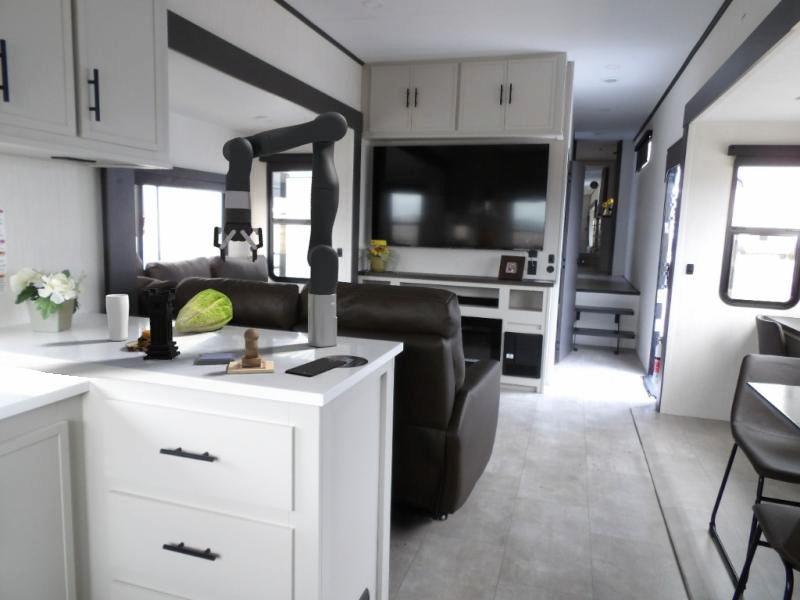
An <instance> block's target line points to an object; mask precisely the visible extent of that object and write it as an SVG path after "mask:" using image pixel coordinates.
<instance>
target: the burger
mask: <svg viewBox="0 0 800 600" xmlns="http://www.w3.org/2000/svg"><path fill="white" fill-rule="evenodd" d="M149 344H150V329H146V330H143V331H142V332H141V335H140V336H139V337H138V338H137V339H136V340H134V341H130V342H127V343H126V344H124V346H125V347H127V352H135V351H134V350H136V351H137V352H139V353H143V352H144V353H145V351H146V350H148V349H149V348H147V345H149Z"/></svg>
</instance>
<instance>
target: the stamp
mask: <svg viewBox="0 0 800 600" xmlns="http://www.w3.org/2000/svg"><path fill="white" fill-rule="evenodd" d="M243 338H244V348H245V350H244V351H245V352H244V355H242V356H241V362H242V368H260V367H261V361H262V354H259V338H260V334H259V331H258V330H257V329H256V328H253V327H252V328H251V327H250V328H247V329H246V331H244V334H243Z"/></svg>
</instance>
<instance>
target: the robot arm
mask: <svg viewBox="0 0 800 600" xmlns="http://www.w3.org/2000/svg"><path fill="white" fill-rule="evenodd" d="M348 127H349V126H348V122H347V119H346V118H345V116H344V115H342V114H341V113H339V112H336V111H327V112H325V113H321V114H319V115H317V116H315V118H314V119H313V120H310V121H307V122H303V123H299V124H295V125H294V124H293V125H289V126H284V127H283V126H282V127H277V128H273V129H269V130H264V131H260V132H258V133H255V134H252V135H248V136H244V137H243V136H236V137H234V138H232V139H229V140H227V141H226V142H225V143H224V144H223V147H222V156H223V157H224V159H225V160H226V161H227V162H228V171H227V173H226V175H225V195H224V215H225V216H224V221H225V223H224V224H225V225H224V227H222V226H214V228H213V247H214V248H218V249H219V255H220V257H219V259H220V260H221V261H222V263H226V260H227V259H226V254H227V253H226V252H227V251H226V249H225V248H226V247H227V245H228V244H229V243H230V241H231V242H233V243H234V242H242V243H245V242H247V243H248V244H249V245H250V246H251V248H252V249H251V250H252V255H251V258H252V259H251V261H252V263H255V262H256V261H257V260H258V250H259V249H261V248H263V247H264V237H263V227H255V228H254V227H253V226H252V195H251V173H252V167H253V161H254V159H257V158H261V157H268V156H272V155H276V154H279V153H283V152H287V151H289V150H292V149H296V148H298V147H301V146H305V145H309V144H312V169H311V183H310V184H311V185H310V209H309V210H310V213H309V214H310V233H309V242H308V248H307V253H306V254H307V255H306V261H307V265H308V267H309V268H310V270H309V271H310V272H309V273H310V274H309V275H310V276H309V283H308V289H307V293H308V295H307V298H308V299H307V306H308V309H307V313H308V314H307V315H308V316H307V319H308V320H307V321H308V322H307V323H308V324H307V331H308V333H307V334H308V335H307V336H308V337H307V344H308V346H310V347H311V346H312V347H317V348H318V347H319V348H320V347H321V348H323V347H324V348H325V347H333V346H338V345H337V344H338V342H337V341H338V340H337V339H338V317H337V290H338V289H337V287H338V284H339V267H340V266H339V265H340V264H339V263H340V260H339V255H338V252H337V251H336V250H335V248H333V230H334V224H335V221H336V217H337V214H338V209H339V204H340V203H339V202H340V182H339V176H338V173H337V169H336V166H335V161H334V160H335V159H334V157H335V156H334V155H335V145H336V144H335V143H336V142H340V141H341V140H342V139H343V138H345V137H346V135H347V133H348ZM222 232H224V234H225V235H226V237H225V239H224V240H223V241H222V243H219V241H220V240H219V237H220V235H221V234H222ZM253 232H254V233H255V235H257V236H258V244H256V243H255V242H254V240H253V239H252V238H251V235H252V234H253Z"/></svg>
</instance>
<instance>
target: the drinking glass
mask: <svg viewBox="0 0 800 600" xmlns="http://www.w3.org/2000/svg"><path fill="white" fill-rule="evenodd" d="M105 309H106V310H105V311H106V316H107V317H106V318H107V324H108V332H109V340H110V341H112V342H123V341H127V340H128V339H129V337H128V336H129V335H128V333H129V332H128V330H129V313H130V312H129V311H130V299H129V295H128V294H126V293H117V294H115V293H113V294H107V295H105Z"/></svg>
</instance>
